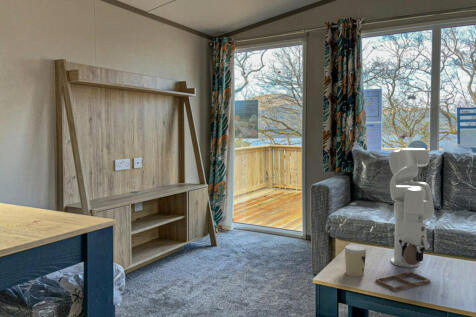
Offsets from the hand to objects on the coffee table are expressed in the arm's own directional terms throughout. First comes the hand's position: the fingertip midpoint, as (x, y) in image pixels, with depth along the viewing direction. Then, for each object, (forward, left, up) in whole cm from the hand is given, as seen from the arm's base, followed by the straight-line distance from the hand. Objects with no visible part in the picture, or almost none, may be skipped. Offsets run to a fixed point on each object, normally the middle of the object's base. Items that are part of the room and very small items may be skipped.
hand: (412, 258), depth 165 cm
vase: (0, 0, -2) cm, 2 cm away
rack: (+5, -2, -10) cm, 11 cm away
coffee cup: (+16, -17, -10) cm, 26 cm away
